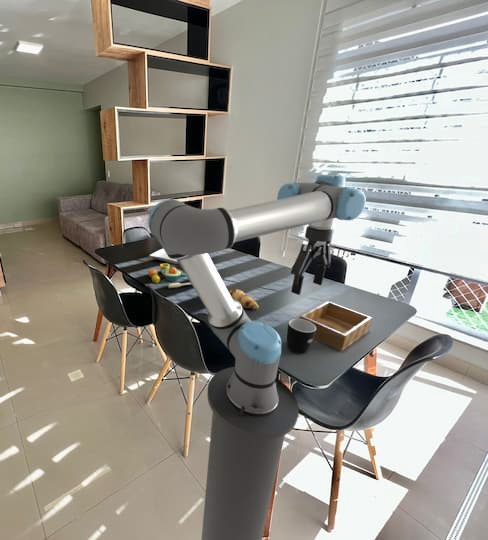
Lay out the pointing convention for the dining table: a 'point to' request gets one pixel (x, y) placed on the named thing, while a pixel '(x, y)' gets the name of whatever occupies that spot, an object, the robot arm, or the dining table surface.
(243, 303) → the croissant
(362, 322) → the crate
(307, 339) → the mug
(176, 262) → the square plate
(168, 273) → the toy juicer set
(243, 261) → the dining table surface
